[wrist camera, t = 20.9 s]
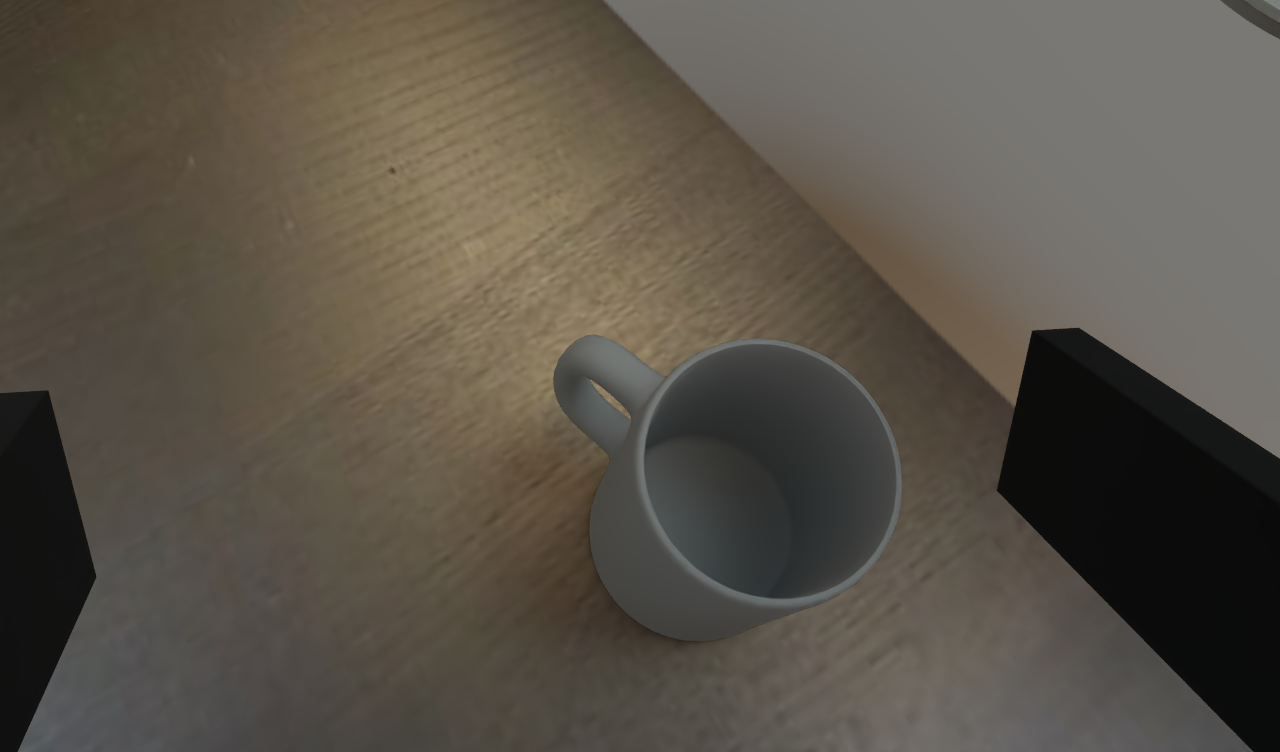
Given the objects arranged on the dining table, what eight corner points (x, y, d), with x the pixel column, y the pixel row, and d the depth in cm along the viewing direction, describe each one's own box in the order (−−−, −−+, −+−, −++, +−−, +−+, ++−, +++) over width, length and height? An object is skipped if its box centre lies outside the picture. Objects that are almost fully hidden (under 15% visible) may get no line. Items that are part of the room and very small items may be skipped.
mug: (834, 522, 41) (957, 454, 31) (711, 689, 38) (804, 675, 28) (612, 339, 42) (660, 214, 32) (476, 487, 39) (481, 401, 29)
